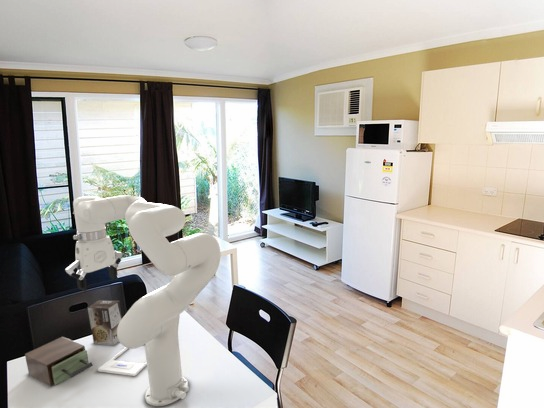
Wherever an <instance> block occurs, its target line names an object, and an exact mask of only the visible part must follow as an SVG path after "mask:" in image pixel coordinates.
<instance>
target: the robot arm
mask: <svg viewBox="0 0 544 408" xmlns="http://www.w3.org/2000/svg"><path fill="white" fill-rule="evenodd" d="M72 206H73V207H72V208H73V214H74V219H75V226H76V234H74V235H73V236H72V239H73V240H75V241H76V242H75V252H74V253H75V255H74V256H75V261H74V262H72V263H71V264H69V266H67V267H66V268H65V269H64V271H65V272H66V274H68V275H69V277H72V278H75V279H76V284H77V289H79V290H81V291H83V292H85V291H88V285H87V279H86V278H85V276H86V275H87V274H89V273H93V272H96V271H99V270H102V269H105V268H108V276H109V279H112V280H117V279H118V268H119V265H120V263H121V261H122V258H123V255H124V253H123V252H121V251H117V250H115V248H114V245H113V242H112V239H111V237H110V236H109V235H107V229H106V228H107V227H106V224H109V223H112V222H116V221H120V220H124V219H125V223H126V225H127V226H128V231H129V234H130V236H131V237H132V240H133V241H134V242H135V244H136V245H137V246H138V247H139V249H140V250H141V251H142V252H143V253H144V255H145V256H146V257H147V258H148V260H149V261H150V262H151V263H152V264H153V266H154V267H155V268H156V269H157V270H158V271H159V273H162V274H163V275H165V276H168V277H169V276H174V277H173V278H172V279H171V280H170V282H168V283H167V284H165V285H163V286H161V287H160V288H158V289H156V290H153V291H152V292H149V293H148V294H145V295H144V296H142V297H140V298H139V299H138V300H136V301H135V302H134V303H133V304H132V305H131V307H129V309H128V310H127V312H126V313H125V315H124V316H122V319H121V321H120V323H119V325H118V328H117V337H118V340H119V342H118V343H120V344H121V346H123V348H125V347H126V348H128V349H132V350H133V349H134V350H135V349H139V348H140V347H143V346H144V353H145V362H146V361H147V365H146V368H147V369H146V370H147V375H148V384H149V387H148V388H147V390H146V391H145V394H144V398H145V403H147V404H148V405H150V406H153V407H163V406H168V405H170V404H173V403H175V402H177V401H178V400H179V399H181V400H184V399H186V397H187V392H189V390H190V386H189V381H188V379H187V377H184V376H183V372H182V362H181V351H180V341H179V324H180V315H181V314H182V313H183V312H185V310H186V309H188V307H189V306H190V305H191V303H192V302H193V301H194V300H195V299H196V298H197V297H198V296H199V294H200V293H202V291H203V290H204V289H205V288H206V287H207V285H209V283H210V282H211V281H212V279H213V278H214V276H215V275H216V273H217V271H218V269H219V267H220V263H221V256H222V255H221V248H220V244H219V242H218V240H217V238H216V237H215V236H213V235H212V234H209V233H206V232H205V233H204V232H203V233H202V232H201V233H193V234H191V235H188V236H185V237H182V238H179V239H177V240H174V241H170V242H169V240H168V238H166V237H170V236H172V235H175V234H177V233H178V232H180V231H181V230H182V229H183V228H184V227H185V224H186V221H187V219H186V214H185V212H184V211H183V210H182V209H180V208H179V207H177V206H174V205H169V204H165V203H164V204H163V203H155V202H147V200H145V198H144V197H141V196H137V195H136V196H134V195H116V196H111V197H105V198H101V197H99V196H96V195H88V196H80V197H76V198H75V199H74V200H73V201H72ZM75 269H77V271H76V272H75V271H74V270H75Z"/></svg>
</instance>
